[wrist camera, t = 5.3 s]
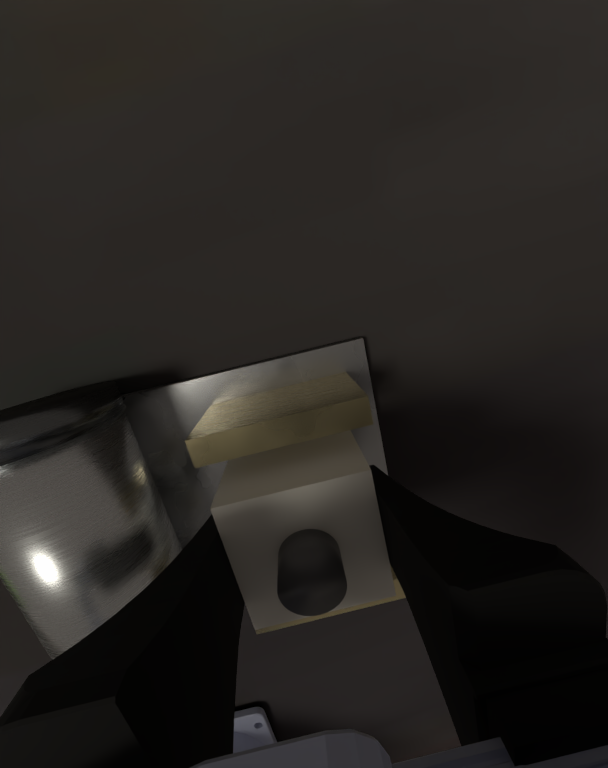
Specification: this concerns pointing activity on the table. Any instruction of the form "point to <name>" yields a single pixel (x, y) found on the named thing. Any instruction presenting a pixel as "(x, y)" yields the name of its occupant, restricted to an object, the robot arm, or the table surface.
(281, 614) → the light grey block
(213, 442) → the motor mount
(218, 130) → the table surface
